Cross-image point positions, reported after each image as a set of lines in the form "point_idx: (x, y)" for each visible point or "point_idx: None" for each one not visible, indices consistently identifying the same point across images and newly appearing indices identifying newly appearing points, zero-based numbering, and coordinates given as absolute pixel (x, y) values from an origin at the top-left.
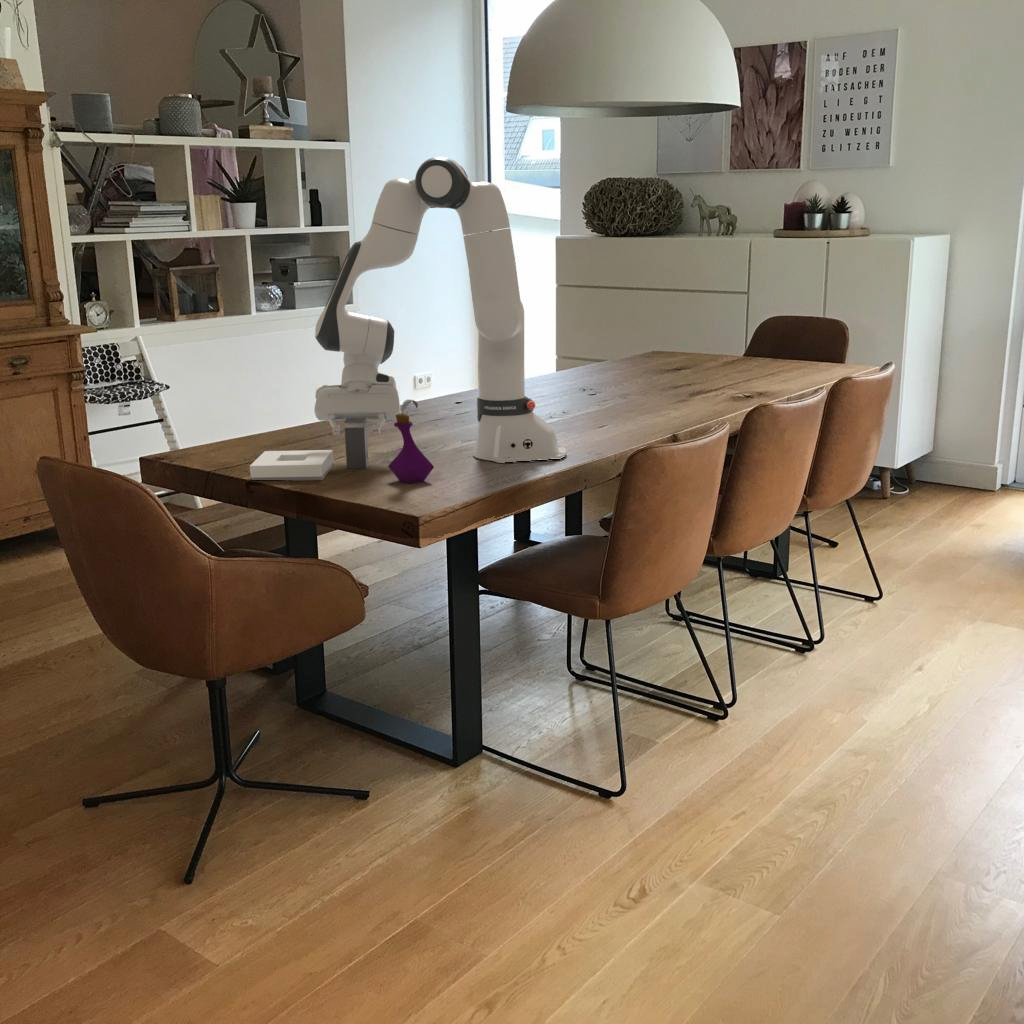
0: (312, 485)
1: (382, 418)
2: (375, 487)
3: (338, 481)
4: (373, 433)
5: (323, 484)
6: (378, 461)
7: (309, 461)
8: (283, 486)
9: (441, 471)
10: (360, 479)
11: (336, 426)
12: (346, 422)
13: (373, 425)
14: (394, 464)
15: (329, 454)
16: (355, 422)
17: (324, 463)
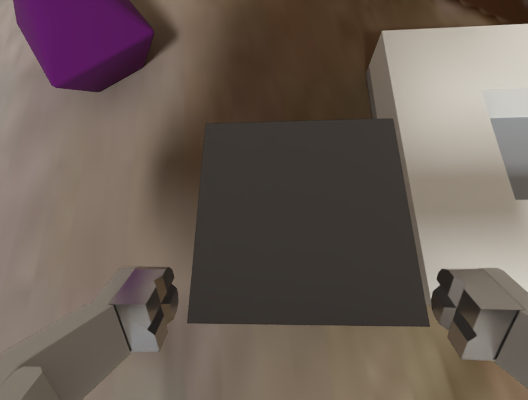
0: (376, 24)
1: (8, 358)
2: (205, 8)
3: (313, 60)
4: (176, 290)
5: (348, 33)
6: (210, 356)
7: (449, 73)
8: (456, 16)
9: (5, 163)
10: (252, 79)
11: (492, 292)
12: (369, 125)
13: (147, 296)
14: (129, 5)
15: (412, 200)
16: (284, 128)
17: (387, 84)
